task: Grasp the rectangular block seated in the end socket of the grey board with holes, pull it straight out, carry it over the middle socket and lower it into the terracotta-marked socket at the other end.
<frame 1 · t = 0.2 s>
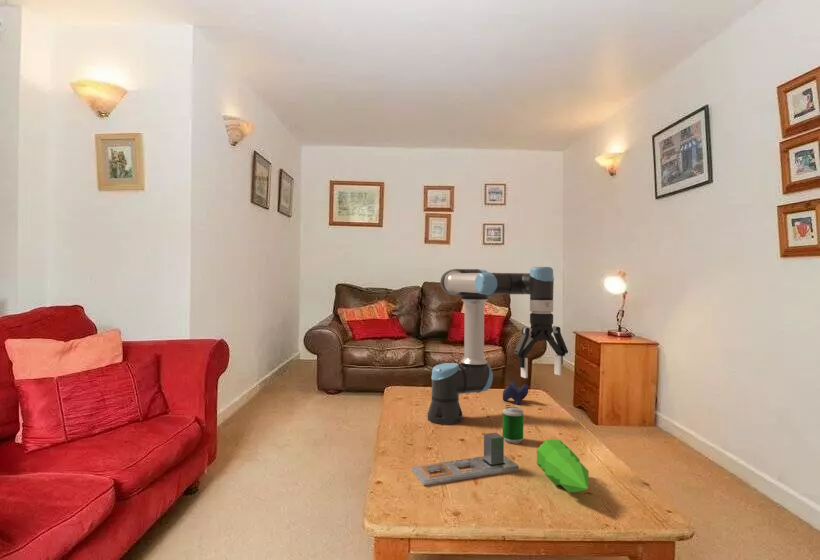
hand: (541, 376, 148), 28 cm above the table, fingers open, 13 cm apart
soda can: (512, 441, 164), on the table
tetrapod: (515, 403, 217), on the table
decorative tree: (561, 486, 128), on the table
grey board with holes: (465, 471, 138), on the table
rectangular block: (493, 466, 141), resting in grey board with holes
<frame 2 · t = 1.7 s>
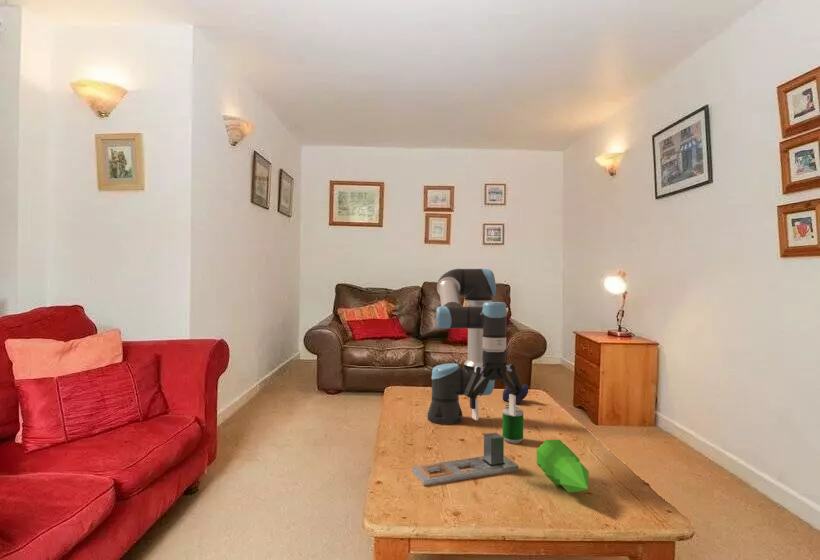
hand: (494, 417, 141), 16 cm above the table, fingers open, 13 cm apart
nothing on the table moved.
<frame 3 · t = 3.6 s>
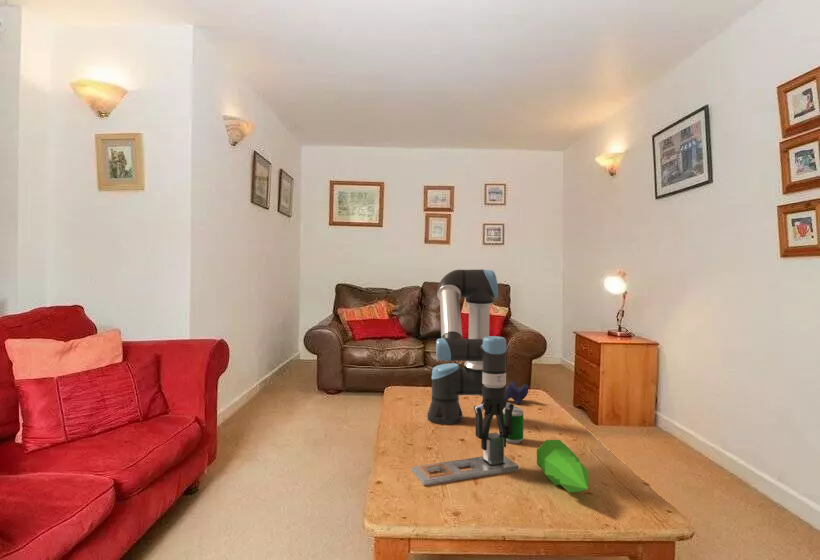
hand: (493, 458, 141), 3 cm above the table, fingers closed on rectangular block, 4 cm apart
rectangular block: (493, 466, 141), resting in grey board with holes, touching gripper
everything else where it was.
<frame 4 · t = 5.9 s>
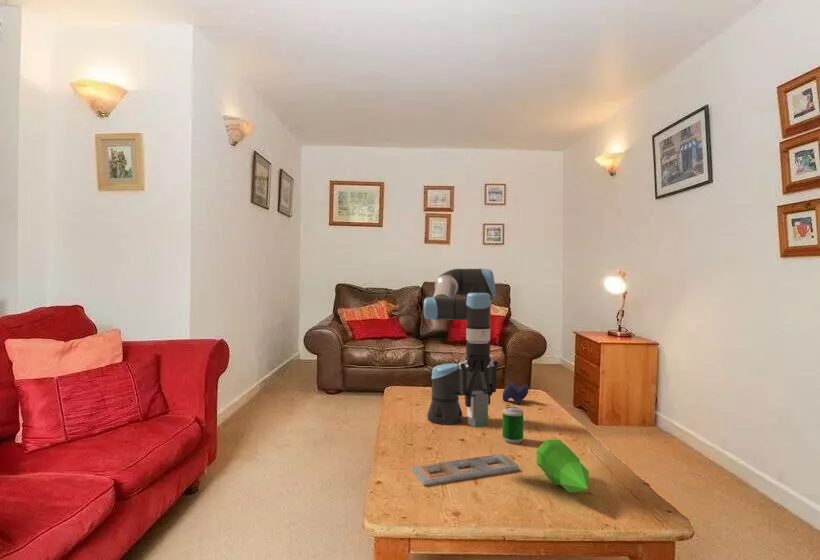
hand: (477, 415, 139), 17 cm above the table, fingers closed on rectangular block, 4 cm apart
rectangular block: (477, 424, 139), point 14 cm above the table, touching gripper
everything else where it was.
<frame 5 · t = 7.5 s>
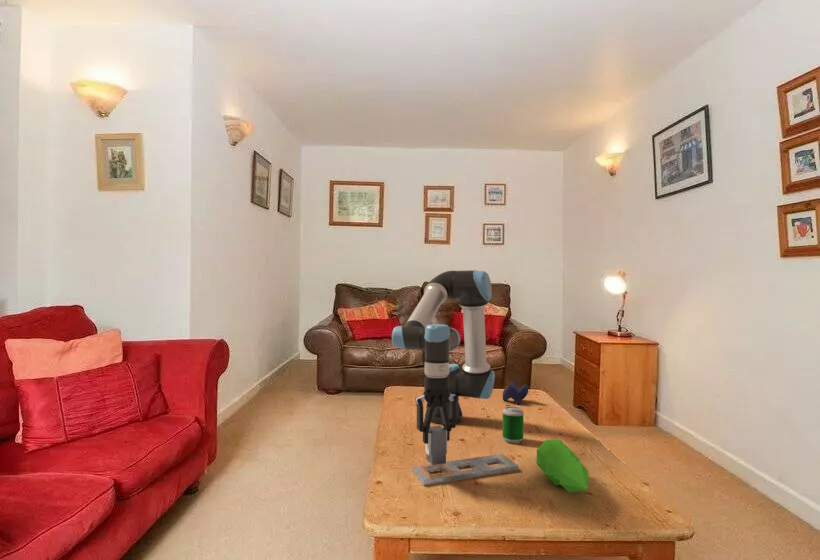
hand: (436, 452, 134), 7 cm above the table, fingers closed on rectangular block, 4 cm apart
rectangular block: (436, 461, 134), point 4 cm above the table, touching gripper
everything else where it was.
when the fingers open (3 cm above the table, at t = 8.6 s): rectangular block stays where it is, resting in grey board with holes.
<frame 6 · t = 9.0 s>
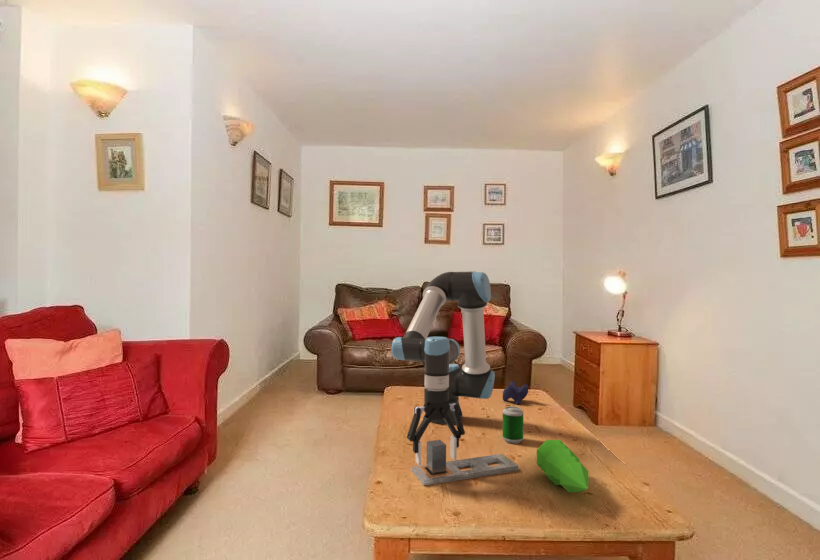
hand: (436, 460, 134), 5 cm above the table, fingers open, 11 cm apart
rectangular block: (436, 476, 134), resting in grey board with holes
everything else where it was.
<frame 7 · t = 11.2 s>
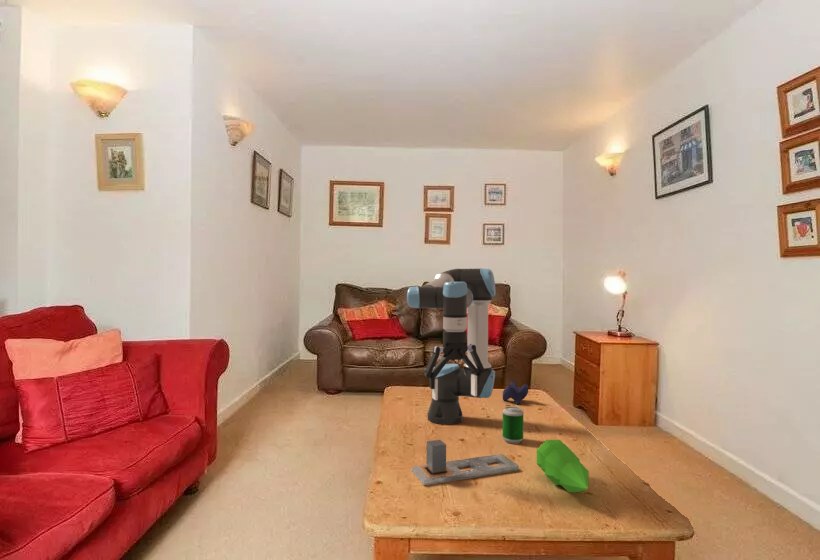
hand: (454, 397, 140), 22 cm above the table, fingers open, 13 cm apart
nothing on the table moved.
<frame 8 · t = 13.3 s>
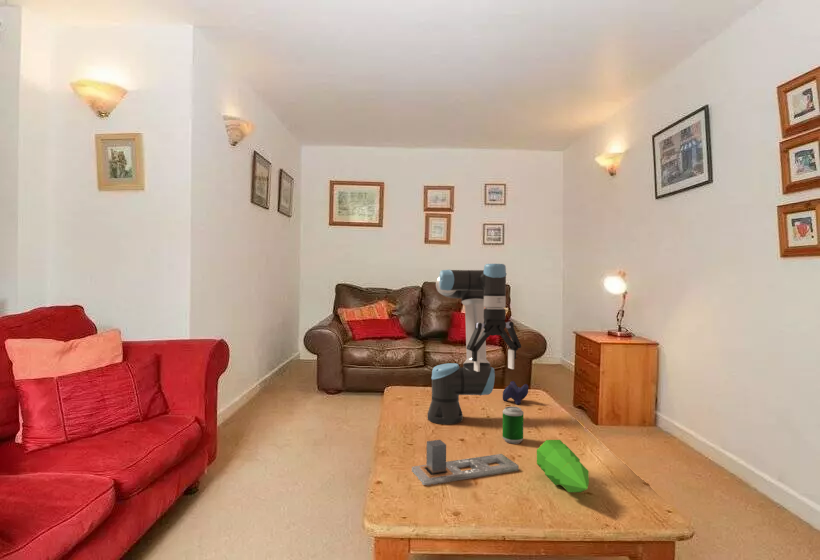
hand: (494, 369, 153), 29 cm above the table, fingers open, 13 cm apart
nothing on the table moved.
at the end: rectangular block 0.0 cm from the target spot on the grey board with holes, point 0.0 cm above the grey board with holes's base; rectangular block tilted 0°; the gripper is holding nothing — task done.
